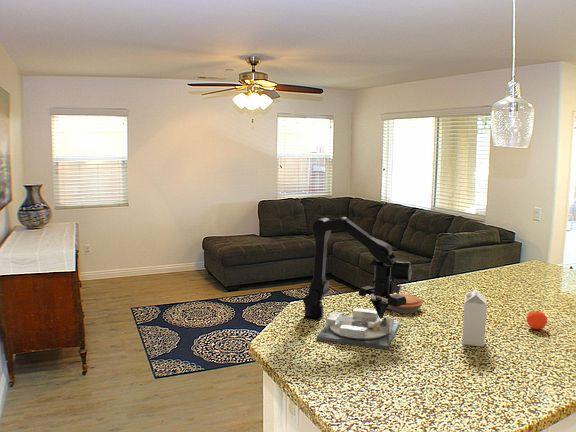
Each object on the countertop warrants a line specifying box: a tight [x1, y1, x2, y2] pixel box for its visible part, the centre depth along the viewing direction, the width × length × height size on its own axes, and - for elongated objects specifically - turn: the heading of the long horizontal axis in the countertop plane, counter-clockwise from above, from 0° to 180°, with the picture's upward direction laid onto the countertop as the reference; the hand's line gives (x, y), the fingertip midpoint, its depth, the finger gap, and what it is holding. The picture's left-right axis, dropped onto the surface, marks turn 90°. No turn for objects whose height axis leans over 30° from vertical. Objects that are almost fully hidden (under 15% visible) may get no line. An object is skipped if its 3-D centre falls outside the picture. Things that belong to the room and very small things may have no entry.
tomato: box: [524, 309, 548, 330], centre depth 195 cm, size 8×7×7 cm
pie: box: [388, 293, 424, 314], centre depth 218 cm, size 16×16×5 cm
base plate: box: [316, 314, 401, 351], centre depth 191 cm, size 25×25×2 cm
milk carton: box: [461, 288, 488, 348], centre depth 181 cm, size 7×7×19 cm
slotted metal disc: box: [325, 307, 395, 340], centre depth 191 cm, size 23×23×4 cm
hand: (381, 318), depth 196 cm, fingers closed
